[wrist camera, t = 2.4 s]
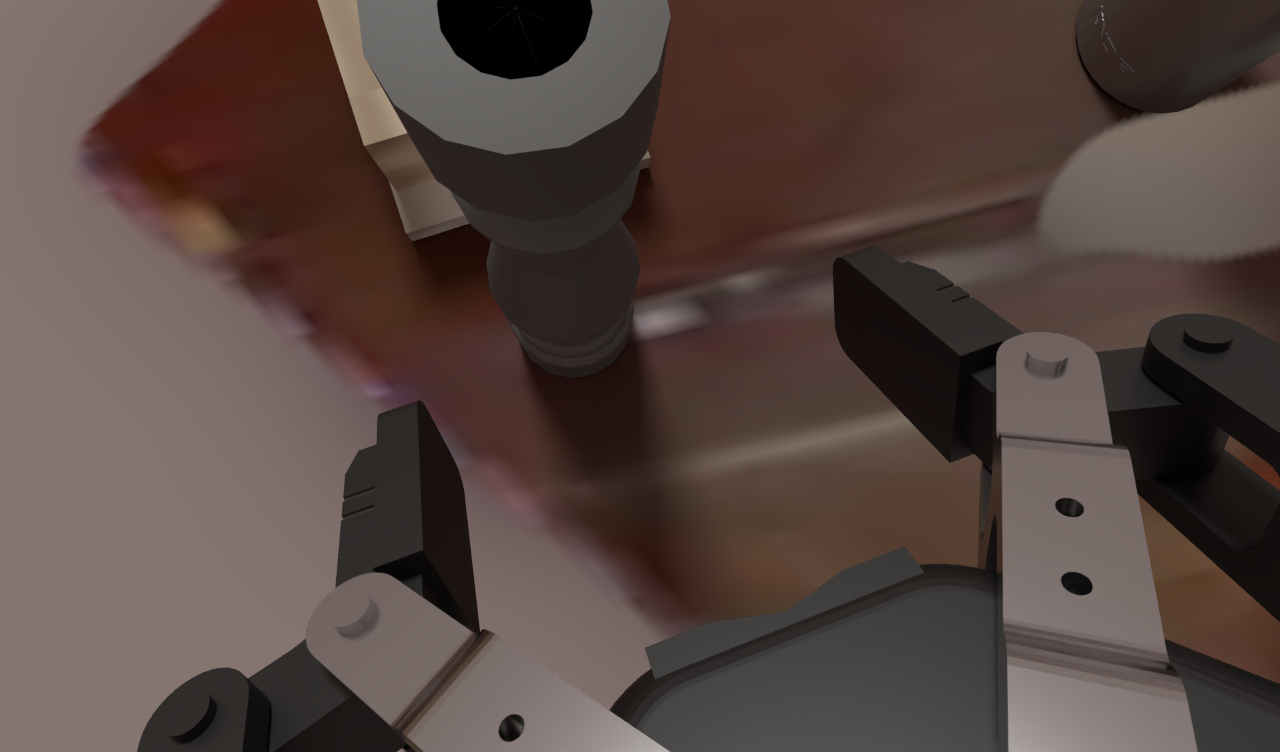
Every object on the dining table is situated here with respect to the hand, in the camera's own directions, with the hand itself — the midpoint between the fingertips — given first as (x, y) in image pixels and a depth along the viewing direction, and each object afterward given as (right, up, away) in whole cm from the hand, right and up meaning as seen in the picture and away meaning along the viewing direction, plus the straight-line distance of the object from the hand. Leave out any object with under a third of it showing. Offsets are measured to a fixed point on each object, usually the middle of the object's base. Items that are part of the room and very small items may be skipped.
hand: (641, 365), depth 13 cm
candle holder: (-4, +3, +25) cm, 25 cm away
